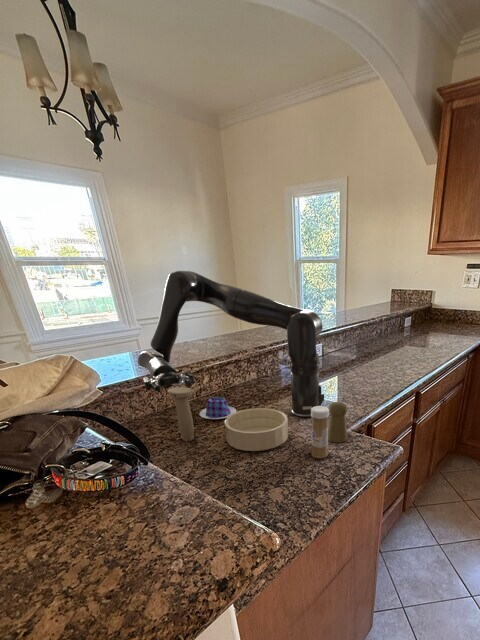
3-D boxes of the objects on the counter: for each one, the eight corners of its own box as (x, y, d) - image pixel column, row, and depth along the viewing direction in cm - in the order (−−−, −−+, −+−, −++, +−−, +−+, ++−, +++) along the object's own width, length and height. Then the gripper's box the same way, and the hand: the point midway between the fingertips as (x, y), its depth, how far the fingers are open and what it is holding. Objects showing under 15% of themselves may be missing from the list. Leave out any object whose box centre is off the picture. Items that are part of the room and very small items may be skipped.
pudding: (241, 408, 124) (239, 394, 122) (229, 422, 113) (227, 407, 111) (208, 406, 125) (206, 392, 123) (193, 420, 114) (191, 405, 112)
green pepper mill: (349, 435, 106) (351, 400, 101) (344, 443, 101) (345, 408, 96) (330, 432, 108) (331, 398, 103) (324, 440, 102) (324, 405, 98)
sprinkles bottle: (307, 455, 94) (307, 408, 89) (318, 449, 98) (319, 404, 92) (320, 461, 92) (320, 413, 86) (331, 454, 95) (332, 408, 89)
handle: (193, 444, 99) (185, 394, 93) (173, 441, 101) (163, 391, 94) (202, 437, 103) (195, 388, 97) (183, 434, 105) (174, 386, 98)
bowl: (272, 421, 114) (271, 404, 112) (298, 442, 101) (298, 423, 98) (218, 434, 105) (216, 415, 103) (240, 459, 92) (238, 438, 90)
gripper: (137, 365, 111) (145, 378, 99) (183, 359, 118) (196, 371, 106) (142, 387, 115) (150, 403, 102) (187, 381, 122) (200, 394, 110)
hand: (174, 386), depth 104 cm, fingers open, 8 cm apart
